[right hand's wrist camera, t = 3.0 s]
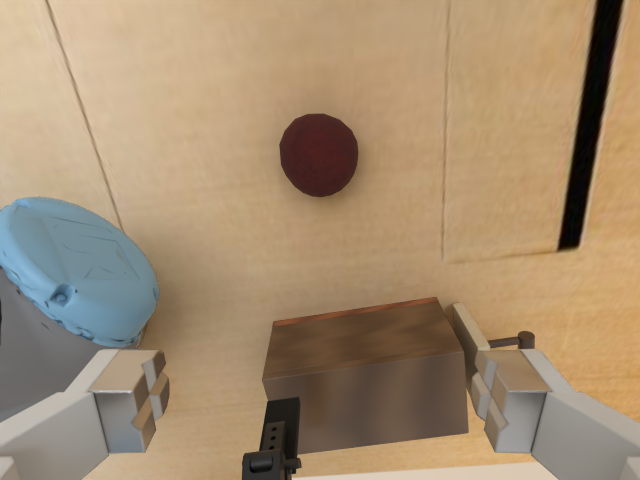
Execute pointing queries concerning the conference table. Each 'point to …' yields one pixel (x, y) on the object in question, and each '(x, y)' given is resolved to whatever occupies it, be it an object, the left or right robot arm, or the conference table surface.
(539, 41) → the conference table surface
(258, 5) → the conference table surface
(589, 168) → the conference table surface
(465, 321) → the drawer
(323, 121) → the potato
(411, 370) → the cabinet
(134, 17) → the conference table surface
